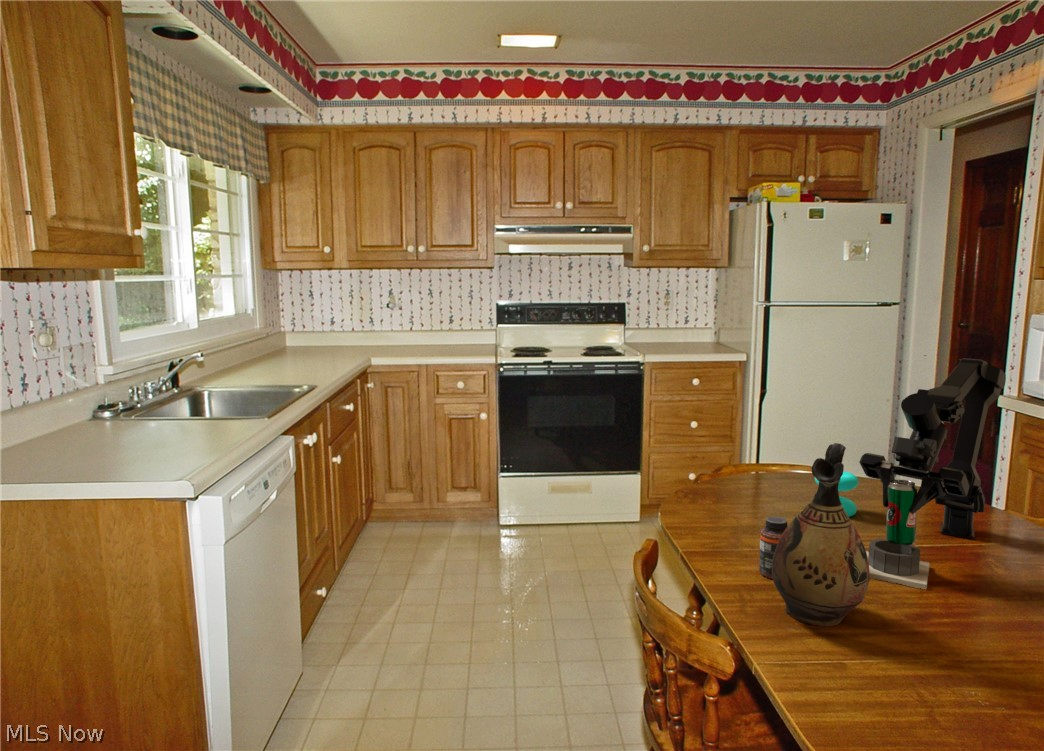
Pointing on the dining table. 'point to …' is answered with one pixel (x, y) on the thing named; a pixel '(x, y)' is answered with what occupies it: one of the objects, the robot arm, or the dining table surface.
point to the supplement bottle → (770, 543)
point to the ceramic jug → (822, 553)
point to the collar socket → (897, 563)
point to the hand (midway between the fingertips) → (897, 509)
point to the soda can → (901, 512)
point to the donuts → (845, 484)
